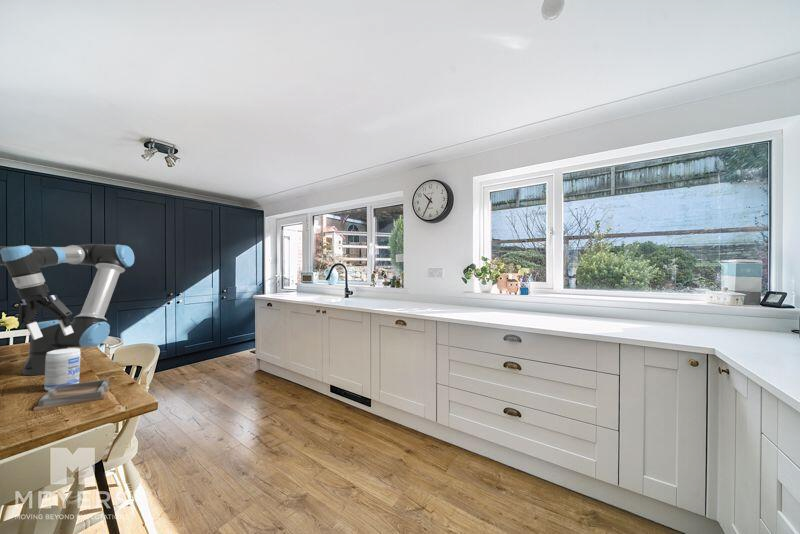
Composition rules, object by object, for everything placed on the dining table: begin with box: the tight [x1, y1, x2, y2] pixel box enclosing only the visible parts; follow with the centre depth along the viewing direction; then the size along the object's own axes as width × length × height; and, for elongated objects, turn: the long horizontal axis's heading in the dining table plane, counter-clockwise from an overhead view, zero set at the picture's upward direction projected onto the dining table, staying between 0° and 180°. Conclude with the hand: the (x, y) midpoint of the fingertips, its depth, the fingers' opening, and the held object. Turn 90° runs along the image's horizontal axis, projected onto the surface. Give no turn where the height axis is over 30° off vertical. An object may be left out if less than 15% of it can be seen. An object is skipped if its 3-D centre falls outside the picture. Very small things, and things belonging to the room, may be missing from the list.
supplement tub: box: [43, 347, 81, 392], centre depth 122 cm, size 10×10×15 cm
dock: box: [32, 378, 112, 412], centre depth 114 cm, size 17×17×3 cm
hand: (53, 336), depth 120 cm, fingers open, 13 cm apart
